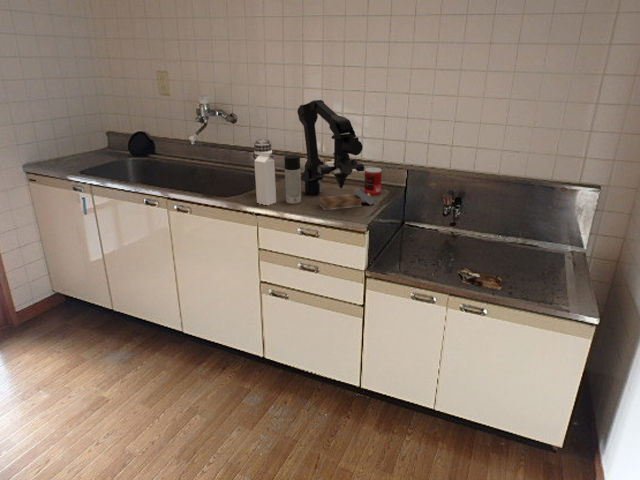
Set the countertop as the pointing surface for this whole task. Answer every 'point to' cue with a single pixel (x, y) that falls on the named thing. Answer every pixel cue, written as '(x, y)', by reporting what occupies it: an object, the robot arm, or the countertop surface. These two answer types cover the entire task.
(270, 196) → the milk
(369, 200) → the lever cap
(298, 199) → the spray can
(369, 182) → the canned food
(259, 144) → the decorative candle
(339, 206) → the body
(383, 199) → the countertop surface
